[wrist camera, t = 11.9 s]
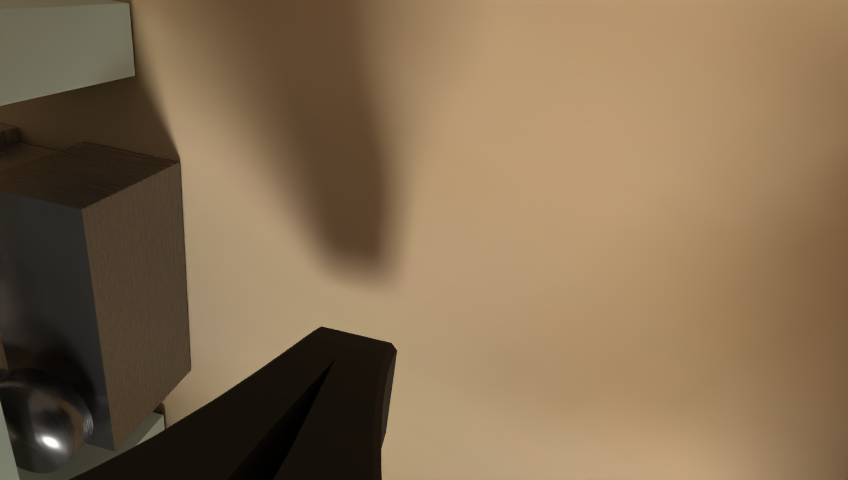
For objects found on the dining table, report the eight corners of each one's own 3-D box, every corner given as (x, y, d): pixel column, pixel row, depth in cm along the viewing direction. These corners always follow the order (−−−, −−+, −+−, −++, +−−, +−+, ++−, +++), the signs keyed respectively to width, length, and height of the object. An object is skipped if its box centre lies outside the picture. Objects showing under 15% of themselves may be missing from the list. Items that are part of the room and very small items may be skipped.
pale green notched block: (166, 451, 14) (3, 651, 10) (79, 427, 14) (-115, 610, 10) (129, 2, 9) (-205, 19, 5) (3, -20, 10) (-408, -21, 6)
